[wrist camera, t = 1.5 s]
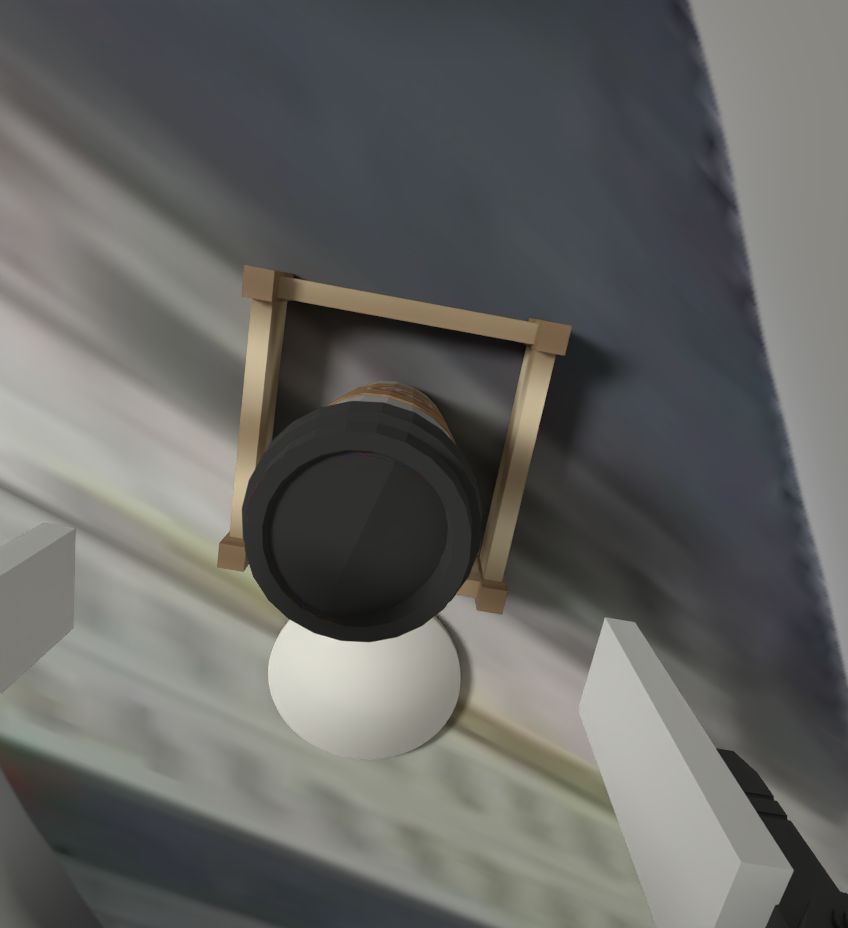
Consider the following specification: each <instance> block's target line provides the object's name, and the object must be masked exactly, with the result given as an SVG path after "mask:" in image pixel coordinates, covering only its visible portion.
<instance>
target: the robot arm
mask: <svg viewBox="0 0 848 928" xmlns="http://www.w3.org/2000/svg"><path fill="white" fill-rule="evenodd" d="M75 534H76V528H71V527H65V526H59V525H53V524H47V523H43V524H41V525H39V526H37V527H35V528H34V529H32V530H30V531H28V532H27V533H25V534H23V535H21V536H20V537H18V538H16V539H14V540H13V541H11V542H9V543H7V544H5V545H4V546H2V547H0V694H2V693H3V692H4V691H5V690H6V689H7V688H8V687H9V686H10V685H11V684H13V683H14V682H15V681H16V680H17V679H18V678H19V677H20V676H21V675H22V674H24V673H25V672H26V671H27V670H28V669H29V668H30V667H31V666H32V665H34V664H35V663H36V662H37V661H38V660H39V659H40V658H41V657H42V656H43V655H45V654H46V653H47V652H48V651H49V650H50V649H51V648H52V647H53V646H54V645H56V644H57V643H58V642H59V641H60V640H61V639H62V638H63V637H64V636H65V635H67V634H68V633H69V632H70V631H71V630H72V629H73V623H74V578H75ZM578 712H579V714H580V717H581V720H582V723H583V725H584V728H585V731H586V734H587V736H588V739H589V742H590V745H591V747H592V750H593V753H594V756H595V758H596V761H597V764H598V767H599V770H600V772H601V775H602V778H603V781H604V783H605V786H606V789H607V792H608V794H609V797H610V800H611V803H612V805H613V808H614V811H615V814H616V817H617V819H618V822H619V825H620V828H621V830H622V833H623V836H624V839H625V841H626V844H627V847H628V850H629V852H630V855H631V858H632V861H633V863H634V866H635V869H636V872H637V875H638V877H639V880H640V883H641V886H642V888H643V891H644V894H645V897H646V899H647V902H648V905H649V908H650V910H651V913H652V916H653V919H654V921H655V924H656V927H657V928H848V894H847V893H843V892H840V891H839V890H838V888H837V887H836V885H835V884H834V882H833V881H832V879H831V878H830V877H829V875H828V874H827V872H826V871H825V869H824V868H823V867H822V865H821V864H820V862H819V861H818V859H817V858H816V856H815V855H814V854H813V852H812V851H811V849H810V848H809V846H808V845H807V844H806V842H805V841H804V839H803V838H802V836H801V835H800V833H799V832H798V831H797V829H796V828H795V826H794V825H793V823H792V822H791V821H788V820H787V815H786V813H785V812H784V810H783V809H782V808H781V806H780V805H779V803H778V802H777V801H774V798H773V797H774V796H773V795H772V793H771V792H770V790H769V789H768V787H767V786H766V785H765V783H764V782H763V780H762V779H761V777H760V776H759V775H758V773H757V772H756V771H755V770H754V769H752V768H751V767H750V766H749V765H748V764H747V763H746V762H745V761H744V760H743V759H741V758H740V757H739V756H738V755H737V754H736V753H735V752H734V751H729V750H723V749H716V748H715V747H714V745H713V743H712V742H711V740H710V739H709V737H708V736H707V734H706V732H705V731H704V729H703V728H702V726H701V725H700V723H699V722H698V720H697V718H696V717H695V715H694V714H693V712H692V711H691V709H690V707H689V706H688V704H687V703H686V701H685V700H684V698H683V697H682V695H681V693H680V692H679V690H678V689H677V687H676V686H675V684H674V683H673V681H672V679H671V678H670V676H669V675H668V673H667V672H666V670H665V668H664V667H663V665H662V664H661V662H660V661H659V659H658V658H657V656H656V654H655V653H654V651H653V650H652V648H651V647H650V645H649V643H648V642H647V640H646V639H645V637H644V636H643V634H642V633H641V631H640V629H639V628H638V626H637V625H636V623H635V622H630V621H624V620H618V619H612V618H606V617H605V619H604V623H603V626H602V630H601V633H600V636H599V640H598V643H597V647H596V650H595V654H594V657H593V660H592V664H591V667H590V671H589V674H588V678H587V681H586V684H585V688H584V691H583V695H582V698H581V701H580V705H579V708H578Z"/></svg>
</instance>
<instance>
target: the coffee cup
mask: <svg viewBox="0 0 848 928" xmlns="http://www.w3.org/2000/svg"><path fill="white" fill-rule="evenodd" d="M481 520H482V504H481V499H480V494H479V489H478V484H477V479H476V477H475V475H474V473H473V471H472V469H471V467H470V465H469V463H468V461H467V460H466V458H465V456H464V454H463V452H462V451H461V450H460V449H459V448H458V447H457V445H456V443H455V441H454V438H453V436H452V434H451V432H450V430H449V428H448V426H447V424H446V422H445V420H444V418H443V416H442V414H441V413H440V412H439V410H438V409H437V407H436V405H435V404H434V403H433V402H432V401H431V400H430V399H429V398H428V397H427V396H426V395H425V394H424V393H422V392H421V391H419V390H417V389H416V388H414V387H413V386H410V385H407V384H404V383H400V382H395V381H379V382H375V383H370V384H367V385H365V386H363V387H359V388H357V389H355V390H353V391H351V392H349V393H347V394H346V395H344V396H342V397H340V398H338V399H337V400H335V401H333V402H332V403H330V404H328V405H326V406H325V407H320V408H318V409H316V410H314V411H312V412H311V413H309V414H307V415H305V416H303V417H301V418H299V419H297V420H295V421H293V422H292V423H291V424H290V425H289V426H288V427H287V428H285V429H284V430H283V431H282V432H281V433H280V434H279V435H278V436H277V437H276V438H275V439H274V440H273V441H272V442H271V443H270V444H269V446H268V448H267V449H266V451H265V453H264V454H263V456H262V458H261V459H260V461H259V463H258V464H257V466H256V468H255V470H254V472H253V474H252V475H251V477H250V479H249V481H248V485H247V489H246V493H245V497H244V501H243V505H242V530H243V540H244V543H245V552H246V556H247V559H248V562H249V565H250V568H251V571H252V574H253V577H254V579H255V580H256V582H257V583H258V585H259V586H260V588H261V589H262V591H263V592H264V594H265V596H266V597H267V599H268V600H269V601H270V602H271V603H272V604H273V605H274V606H275V607H276V608H278V609H279V610H280V611H281V612H282V613H283V614H284V615H285V616H286V617H287V618H288V619H290V620H291V621H293V622H295V623H297V624H298V625H300V626H302V627H304V628H306V629H307V630H309V631H311V632H313V633H315V634H319V635H322V636H326V637H329V638H333V639H336V640H340V641H352V642H374V641H380V640H385V639H391V638H396V637H399V636H401V635H403V634H406V633H408V632H410V631H412V630H414V629H417V628H419V627H421V626H423V625H424V624H425V623H427V622H428V621H429V620H430V619H432V618H433V617H434V616H435V615H437V614H438V613H439V612H440V611H442V610H443V609H444V608H445V606H446V605H447V604H448V602H450V601H451V600H452V599H453V597H454V596H455V595H456V593H457V592H458V591H459V589H460V588H461V587H462V585H463V584H464V583H465V581H466V580H467V578H468V577H469V575H470V572H471V570H472V567H473V564H474V562H475V559H476V556H477V554H478V551H479V544H480V532H481Z"/></svg>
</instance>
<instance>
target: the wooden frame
mask: <svg viewBox="0 0 848 928" xmlns="http://www.w3.org/2000/svg"><path fill="white" fill-rule="evenodd" d="M242 297H248V298H252V304H251V314H250V325H249V335H248V346H247V356H246V367H245V378H244V388H243V399H242V409H241V420H240V431H239V441H238V452H237V462H236V473H235V483H234V494H233V505H232V515H231V526H230V531H229V533H228V534H227V535H226V536H225V537H224V538H223V540H222V541H221V542H220V543H219V553H218V564H217V567H218V568H224V569H230V570H236V571H242V572H244V570H245V569H246V567H247V566H248V564H249V562H248V559H247V556H246V552H245V543H244V540H243V530H242V505H243V501H244V497H245V493H246V489H247V485H248V481H249V479H250V477H251V475H252V474H253V472H254V470H255V468H256V466H257V464H258V463H259V461H260V459H261V458H262V456H263V454H264V453H265V451H266V449H267V448H268V446H269V444H270V443H271V442H272V435H273V426H274V417H275V408H276V399H277V390H278V381H279V372H280V363H281V354H282V345H283V336H284V327H285V318H286V309H287V301H291V300H294V301H299V302H305V303H310V304H316V305H321V306H326V307H332V308H337V309H343V310H348V311H354V312H359V313H364V314H370V315H375V316H381V317H386V318H392V319H397V320H403V321H408V322H413V323H419V324H424V325H430V326H435V327H441V328H446V329H451V330H457V331H462V332H468V333H473V334H479V335H484V336H489V337H495V338H500V339H506V340H511V341H517V342H522V343H523V344H524V345H526V350H525V355H524V359H523V364H522V368H521V373H520V377H519V382H518V386H517V391H516V395H515V400H514V404H513V409H512V413H511V418H510V422H509V426H508V431H507V435H506V440H505V444H504V449H503V453H502V458H501V462H500V467H499V471H498V476H497V480H496V485H495V489H494V494H493V498H492V503H491V507H490V512H489V516H488V521H487V525H486V530H485V534H484V539H483V543H482V548H481V552H480V556H476V559H475V562H474V564H473V567H472V570H471V572H470V575H469V577H468V578H467V580H466V581H465V583H464V584H463V585H462V587H461V588H460V589H459V591H458V592H457V593H456V595H462V596H468V597H474V598H475V602H476V608H477V610H478V611H484V612H490V613H496V614H503V609H504V605H505V601H506V597H507V593H508V590H507V586H506V583H505V579H504V571H505V567H506V563H507V559H508V555H509V550H510V546H511V542H512V538H513V533H514V529H515V525H516V521H517V517H518V512H519V508H520V504H521V500H522V496H523V491H524V487H525V483H526V479H527V474H528V470H529V466H530V462H531V458H532V453H533V449H534V445H535V441H536V437H537V432H538V428H539V424H540V420H541V415H542V411H543V407H544V403H545V399H546V394H547V390H548V386H549V382H550V378H551V373H552V369H553V365H554V361H555V357H556V354H558V355H564V356H565V353H566V349H567V345H568V340H569V336H570V332H571V328H572V326H570V325H565V324H560V323H554V322H549V321H544V320H538V319H533V318H529V320H528V321H522V320H517V319H512V318H506V317H501V316H495V315H490V314H485V313H479V312H474V311H468V310H463V309H458V308H452V307H447V306H442V305H436V304H431V303H425V302H420V301H415V300H409V299H404V298H398V297H393V296H388V295H382V294H377V293H371V292H366V291H361V290H355V289H350V288H344V287H339V286H334V285H328V284H323V283H318V282H312V281H307V280H301V279H296V278H294V274H291V273H285V272H280V271H275V270H269V269H264V268H258V267H252V266H247V265H244V274H243V285H242Z"/></svg>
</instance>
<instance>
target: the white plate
mask: <svg viewBox="0 0 848 928" xmlns="http://www.w3.org/2000/svg"><path fill="white" fill-rule="evenodd" d="M268 679H269V687H270V691H271V695H272V698H273V701H274V703H275V705H276V708H277V709H278V711H279V713H280V714H281V716H282V718H283V719H284V720H285V721H286V723H287V724H288V725H289V726H290V727H291V728H292V729H293V730H294V731H295V732H296V733H297V734H298V735H299V736H300V737H302V738H303V739H304V740H306V741H307V742H309V743H310V744H312V745H314V746H315V747H317V748H319V749H322V750H324V751H326V752H329V753H332V754H335V755H338V756H342V757H347V758H352V759H362V760H367V759H383V758H389V757H393V756H398V755H401V754H403V753H406V752H409V751H411V750H413V749H415V748H417V747H419V746H421V745H422V744H424V743H425V742H427V741H428V740H430V739H431V738H432V737H433V736H434V735H436V734H437V733H438V732H439V731H440V730H441V728H442V727H443V726H444V725H445V724H446V722H447V721H448V719H449V718H450V716H451V715H452V712H453V710H454V708H455V706H456V703H457V700H458V697H459V692H460V685H461V674H460V664H459V657H458V653H457V650H456V647H455V644H454V642H453V640H452V638H451V636H450V634H449V632H448V631H447V629H446V628H445V626H444V625H443V624H442V623H441V621H440V620H439V619H438V618H437V617H436V616H434V617H433V618H432V619H430V620H429V621H428V622H427V623H425V624H424V625H423V626H421V627H419V628H417V629H414V630H412V631H410V632H408V633H406V634H403V635H401V636H399V637H396V638H391V639H385V640H380V641H374V642H352V641H340V640H336V639H333V638H329V637H326V636H322V635H319V634H315V633H313V632H311V631H309V630H307V629H306V628H304V627H302V626H300V625H298V624H297V623H295V622H293V621H291V620H290V619H289V620H288V621H287V622H286V624H285V625H284V626H283V628H282V630H281V632H280V634H279V635H278V637H277V640H276V642H275V644H274V647H273V650H272V652H271V656H270V661H269V668H268Z"/></svg>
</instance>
